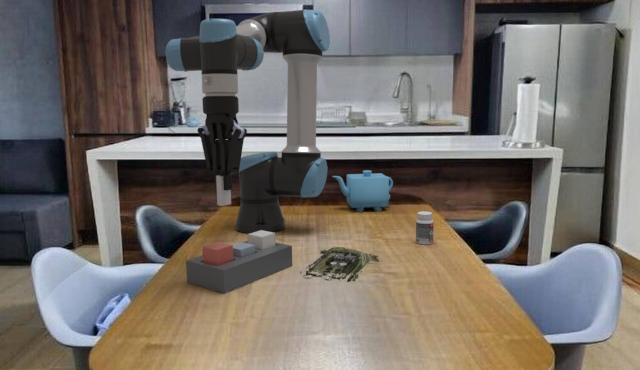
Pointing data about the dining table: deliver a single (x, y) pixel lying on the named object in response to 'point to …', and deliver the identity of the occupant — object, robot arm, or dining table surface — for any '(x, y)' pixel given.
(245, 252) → the blue key
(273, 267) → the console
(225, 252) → the red key
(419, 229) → the pill bottle
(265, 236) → the white key
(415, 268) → the dining table surface
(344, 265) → the treatment plant
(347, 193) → the teapot
